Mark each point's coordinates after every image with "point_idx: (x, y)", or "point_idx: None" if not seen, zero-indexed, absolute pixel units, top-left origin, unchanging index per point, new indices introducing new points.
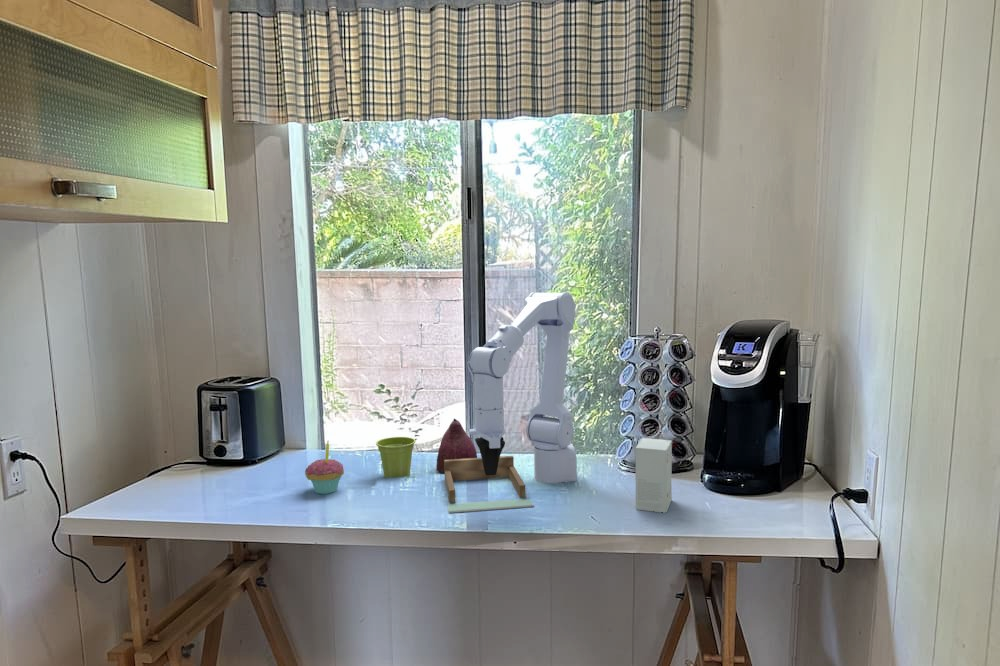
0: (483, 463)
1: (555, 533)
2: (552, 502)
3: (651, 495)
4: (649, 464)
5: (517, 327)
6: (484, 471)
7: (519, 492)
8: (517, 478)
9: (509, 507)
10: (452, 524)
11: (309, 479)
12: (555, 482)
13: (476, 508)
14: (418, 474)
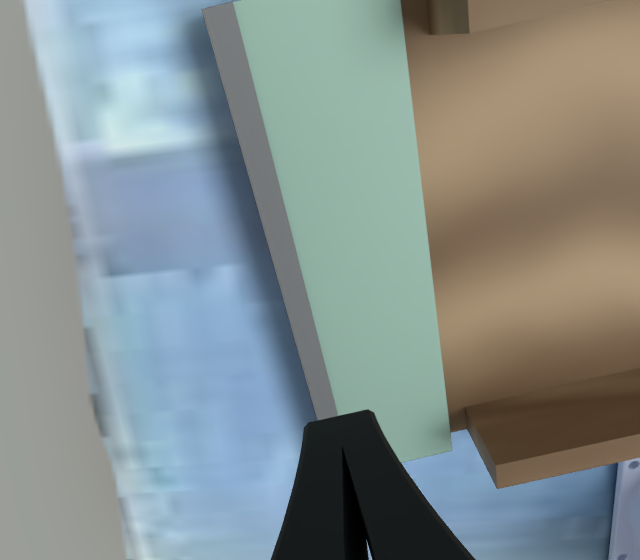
0: (282, 532)
1: (124, 527)
2: (461, 500)
3: None
4: None
5: None
6: (354, 426)
7: (490, 428)
8: (627, 444)
9: (316, 384)
10: (143, 50)
11: None
12: (638, 529)
13: (306, 207)
14: None
